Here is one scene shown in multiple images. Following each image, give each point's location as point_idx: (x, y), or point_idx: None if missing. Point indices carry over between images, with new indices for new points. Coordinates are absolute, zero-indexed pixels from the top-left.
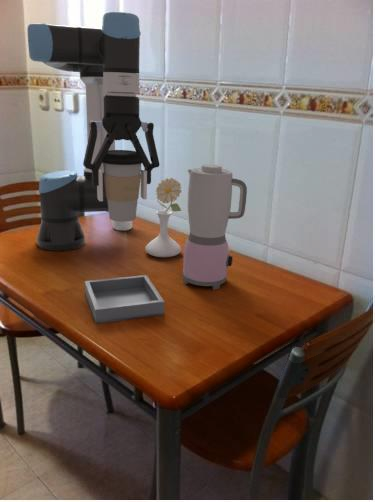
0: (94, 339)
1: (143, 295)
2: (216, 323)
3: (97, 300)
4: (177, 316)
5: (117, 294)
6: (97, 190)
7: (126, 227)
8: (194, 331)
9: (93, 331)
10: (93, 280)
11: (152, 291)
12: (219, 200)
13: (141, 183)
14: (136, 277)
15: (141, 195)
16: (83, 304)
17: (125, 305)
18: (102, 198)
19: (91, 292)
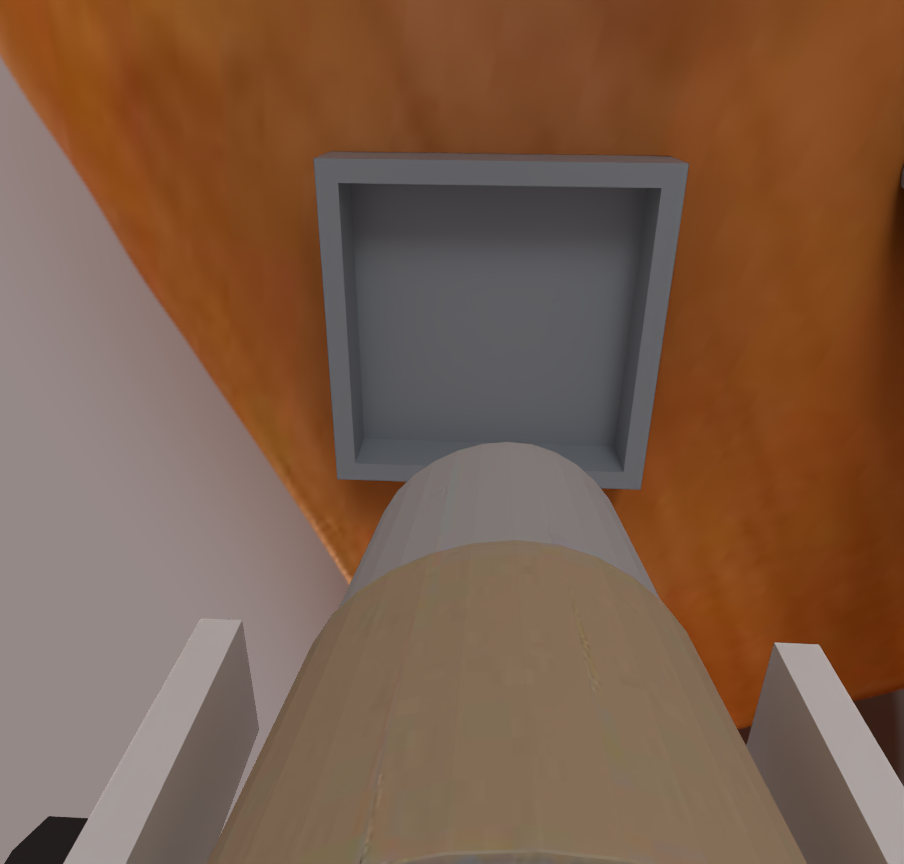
0: (334, 540)
1: (608, 284)
2: (788, 565)
3: (378, 275)
4: (675, 482)
5: (485, 236)
6: (157, 717)
7: None
8: (680, 587)
9: (336, 494)
10: (363, 163)
11: (635, 369)
12: None
13: (851, 859)
14: (617, 185)
15: (773, 705)
16: (314, 271)
17: None
18: (244, 754)
19: (337, 315)
